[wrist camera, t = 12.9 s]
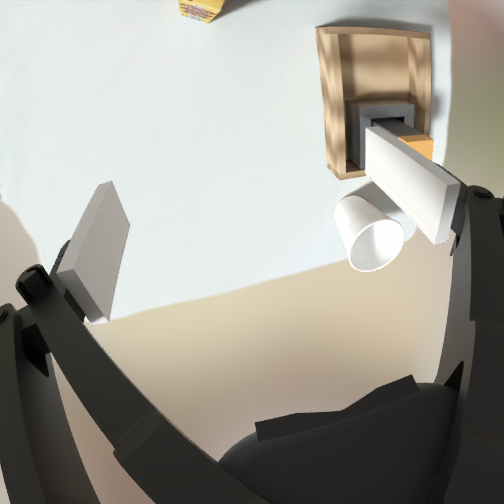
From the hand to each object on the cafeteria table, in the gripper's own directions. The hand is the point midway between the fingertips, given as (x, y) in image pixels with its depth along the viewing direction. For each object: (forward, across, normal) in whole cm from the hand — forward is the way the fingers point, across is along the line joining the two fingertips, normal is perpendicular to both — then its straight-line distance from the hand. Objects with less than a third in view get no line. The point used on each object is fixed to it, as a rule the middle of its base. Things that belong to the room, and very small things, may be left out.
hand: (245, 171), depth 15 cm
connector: (+28, +23, -9) cm, 37 cm away
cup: (+29, +19, -24) cm, 42 cm away
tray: (+29, +23, -4) cm, 37 cm away
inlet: (+29, +23, -9) cm, 38 cm away
